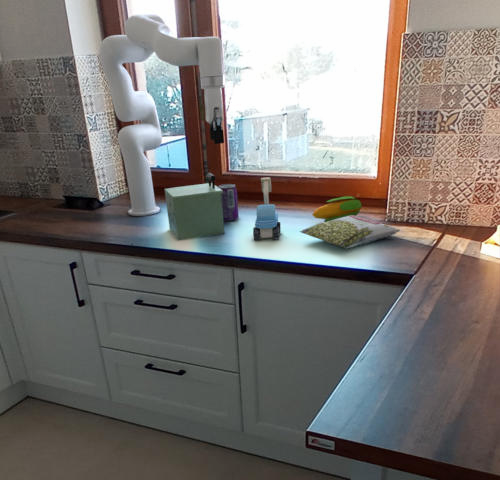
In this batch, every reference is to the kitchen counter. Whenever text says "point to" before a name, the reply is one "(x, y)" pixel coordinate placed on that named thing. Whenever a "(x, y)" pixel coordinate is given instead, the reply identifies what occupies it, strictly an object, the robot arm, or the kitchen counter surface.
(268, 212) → the toy excavator
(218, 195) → the green box
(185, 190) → the green box lid
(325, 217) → the corn
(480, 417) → the kitchen counter surface
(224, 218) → the beverage can
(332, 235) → the frozen beans
